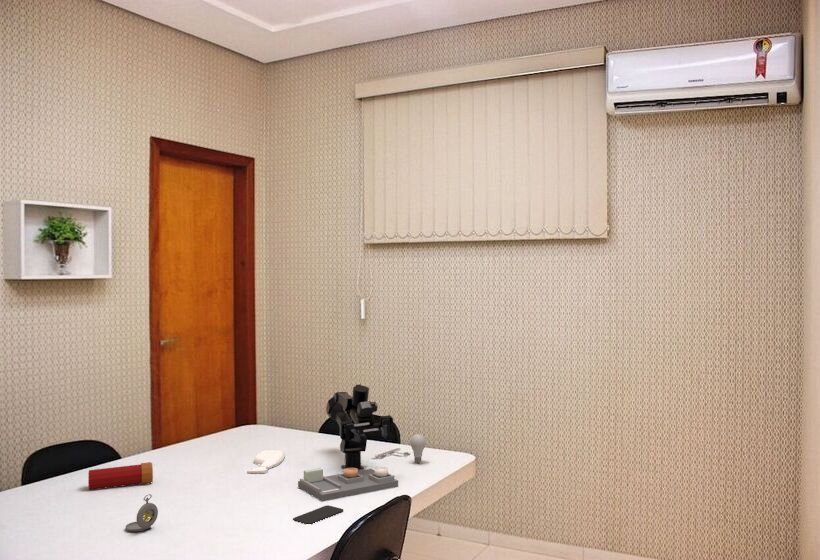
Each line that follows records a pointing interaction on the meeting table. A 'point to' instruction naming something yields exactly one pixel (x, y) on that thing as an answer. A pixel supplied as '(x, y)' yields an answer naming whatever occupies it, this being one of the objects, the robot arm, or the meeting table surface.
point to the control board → (347, 485)
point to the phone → (318, 514)
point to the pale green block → (313, 475)
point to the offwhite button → (381, 471)
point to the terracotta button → (350, 472)
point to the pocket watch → (148, 511)
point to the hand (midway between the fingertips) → (373, 439)
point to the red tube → (120, 476)
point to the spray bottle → (267, 460)
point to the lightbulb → (417, 446)
